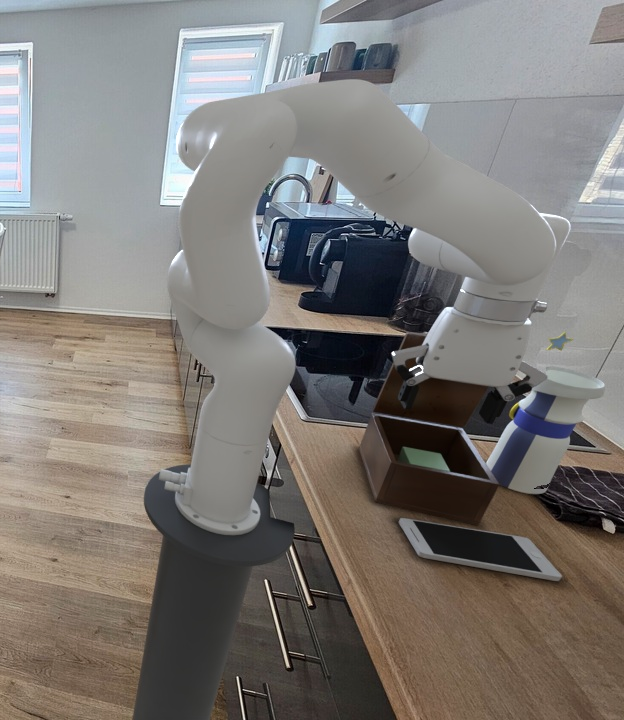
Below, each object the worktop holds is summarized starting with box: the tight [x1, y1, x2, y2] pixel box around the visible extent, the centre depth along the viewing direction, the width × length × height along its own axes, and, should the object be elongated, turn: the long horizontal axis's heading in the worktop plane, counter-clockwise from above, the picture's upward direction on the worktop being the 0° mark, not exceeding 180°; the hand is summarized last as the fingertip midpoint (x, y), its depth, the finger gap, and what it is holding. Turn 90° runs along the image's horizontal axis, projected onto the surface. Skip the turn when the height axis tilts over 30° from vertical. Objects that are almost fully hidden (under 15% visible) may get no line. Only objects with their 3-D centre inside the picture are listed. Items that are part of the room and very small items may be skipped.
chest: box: [358, 412, 501, 526], centre depth 81 cm, size 16×13×8 cm
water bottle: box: [485, 331, 606, 495], centre depth 78 cm, size 8×9×25 cm
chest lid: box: [372, 331, 490, 428], centre depth 82 cm, size 16×13×5 cm
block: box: [397, 447, 450, 472], centre depth 81 cm, size 5×5×5 cm
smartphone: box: [398, 517, 563, 582], centre depth 70 cm, size 7×15×1 cm, turn 73°
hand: (444, 412), depth 76 cm, fingers open, 9 cm apart
